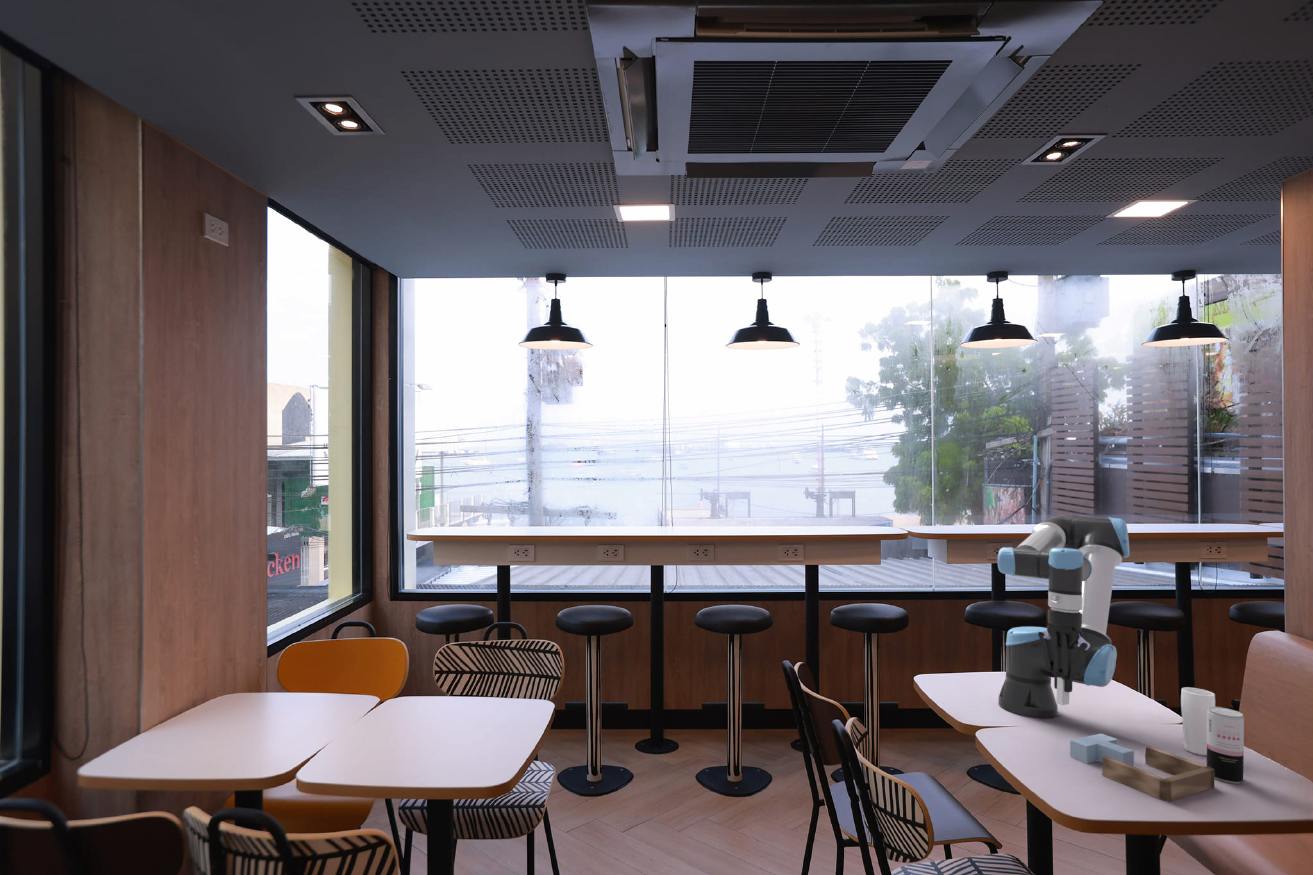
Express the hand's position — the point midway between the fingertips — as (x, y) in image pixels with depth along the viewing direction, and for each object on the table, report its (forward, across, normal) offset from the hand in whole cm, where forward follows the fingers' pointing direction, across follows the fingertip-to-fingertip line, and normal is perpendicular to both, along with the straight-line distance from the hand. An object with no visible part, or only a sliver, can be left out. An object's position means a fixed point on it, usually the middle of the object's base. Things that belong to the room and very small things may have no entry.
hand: (1062, 703), depth 177 cm
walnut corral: (+10, +22, 0) cm, 24 cm away
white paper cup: (+10, +16, +29) cm, 35 cm away
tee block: (+10, +11, +1) cm, 15 cm away
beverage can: (+10, +27, +18) cm, 34 cm away
